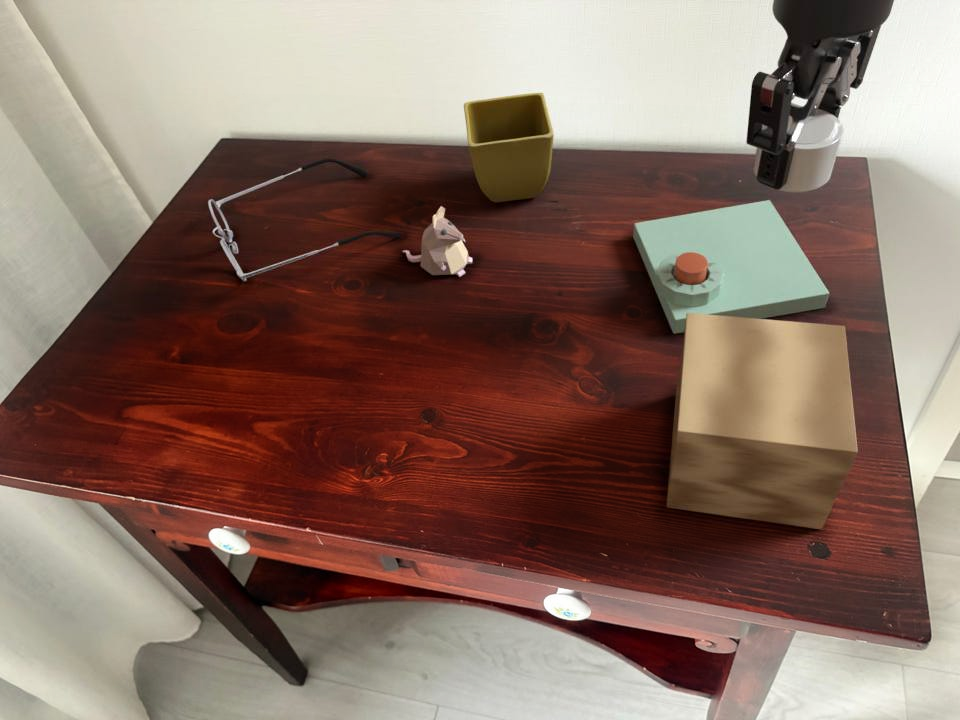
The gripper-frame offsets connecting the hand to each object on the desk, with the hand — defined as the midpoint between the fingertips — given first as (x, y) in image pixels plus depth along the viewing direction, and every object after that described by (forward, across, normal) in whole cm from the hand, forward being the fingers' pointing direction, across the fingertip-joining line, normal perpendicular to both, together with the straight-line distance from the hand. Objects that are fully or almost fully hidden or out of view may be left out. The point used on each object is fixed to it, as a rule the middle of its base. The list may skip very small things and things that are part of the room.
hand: (793, 163), depth 61 cm
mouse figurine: (+14, -17, +28) cm, 36 cm away
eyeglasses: (+14, -23, +43) cm, 51 cm away
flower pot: (+14, -3, +30) cm, 33 cm away
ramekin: (+1, 0, 0) cm, 1 cm away
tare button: (+10, -6, +5) cm, 13 cm away
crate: (+14, -18, -9) cm, 24 cm away
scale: (+14, -1, +4) cm, 14 cm away
